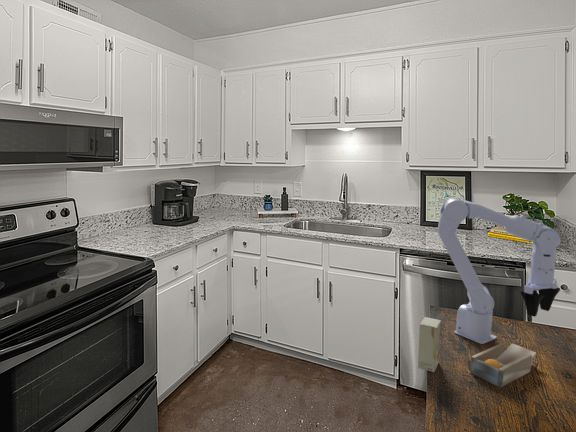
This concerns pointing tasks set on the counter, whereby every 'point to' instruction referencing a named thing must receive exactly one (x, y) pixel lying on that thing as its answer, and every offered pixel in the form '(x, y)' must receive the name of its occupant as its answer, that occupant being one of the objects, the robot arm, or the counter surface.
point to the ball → (493, 363)
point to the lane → (502, 364)
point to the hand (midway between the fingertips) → (538, 312)
